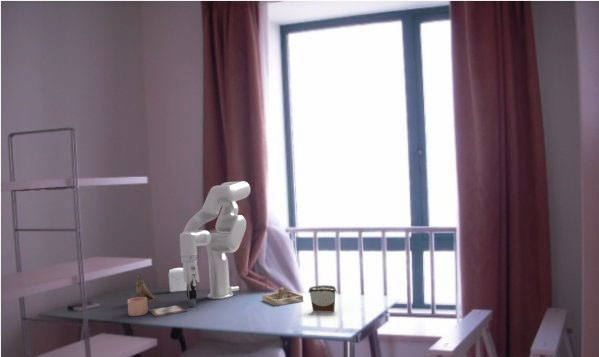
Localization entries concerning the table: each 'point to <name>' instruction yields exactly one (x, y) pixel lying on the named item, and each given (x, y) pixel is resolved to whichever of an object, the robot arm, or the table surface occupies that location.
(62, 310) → the table surface
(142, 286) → the brown carved statuette
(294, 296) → the artifact tray
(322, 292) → the food container
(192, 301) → the marker
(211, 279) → the robot arm
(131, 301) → the pen cup
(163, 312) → the picture frame
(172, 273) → the photo printer
